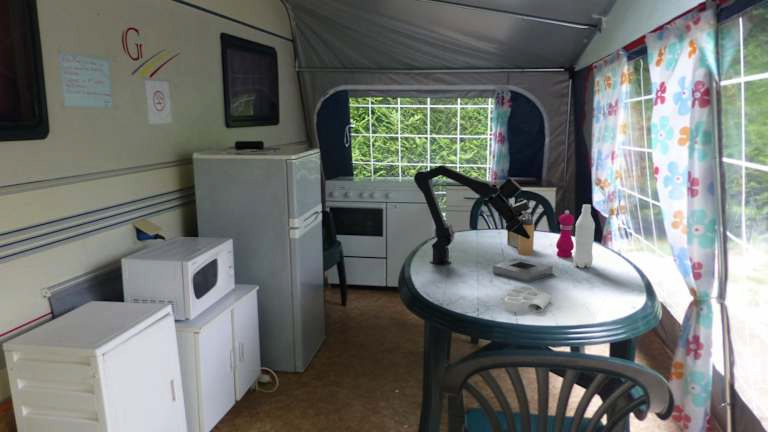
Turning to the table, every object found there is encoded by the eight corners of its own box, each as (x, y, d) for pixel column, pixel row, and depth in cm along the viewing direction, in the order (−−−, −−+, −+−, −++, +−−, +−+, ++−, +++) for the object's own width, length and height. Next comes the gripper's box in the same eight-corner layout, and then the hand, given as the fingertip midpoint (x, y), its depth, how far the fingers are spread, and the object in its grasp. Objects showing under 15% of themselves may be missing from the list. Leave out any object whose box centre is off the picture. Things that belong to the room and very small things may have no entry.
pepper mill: (570, 253, 230) (573, 208, 227) (575, 258, 223) (578, 212, 220) (553, 253, 231) (556, 208, 227) (557, 258, 224) (560, 211, 220)
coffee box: (530, 247, 243) (531, 212, 240) (519, 248, 240) (520, 213, 237) (517, 242, 251) (518, 209, 248) (506, 244, 248) (507, 210, 245)
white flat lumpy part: (539, 317, 160) (492, 308, 168) (553, 300, 175) (510, 292, 183) (539, 307, 160) (493, 298, 167) (554, 290, 175) (511, 283, 182)
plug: (522, 256, 203) (525, 216, 200) (515, 252, 208) (517, 213, 205) (535, 255, 205) (537, 215, 202) (527, 251, 210) (529, 213, 207)
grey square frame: (528, 282, 192) (529, 274, 192) (492, 272, 204) (493, 265, 203) (552, 273, 203) (552, 265, 202) (516, 264, 214) (517, 257, 214)
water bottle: (593, 269, 208) (598, 206, 203) (574, 268, 209) (578, 206, 204) (590, 264, 215) (594, 203, 210) (571, 263, 216) (575, 203, 211)
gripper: (516, 196, 194) (545, 228, 193) (519, 189, 212) (546, 218, 211) (493, 216, 198) (522, 247, 197) (498, 208, 216) (525, 236, 214)
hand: (529, 236), depth 205 cm, fingers closed on plug, 6 cm apart
